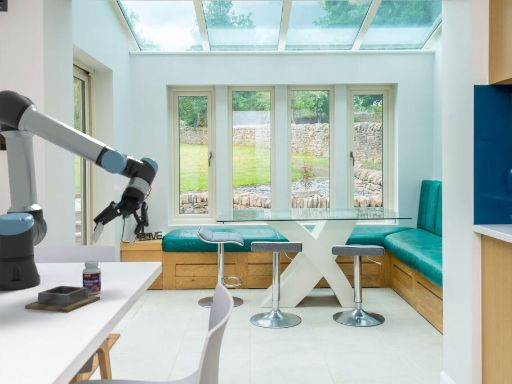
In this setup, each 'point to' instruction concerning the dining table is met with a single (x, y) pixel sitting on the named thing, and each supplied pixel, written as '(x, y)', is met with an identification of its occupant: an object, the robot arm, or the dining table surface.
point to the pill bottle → (92, 277)
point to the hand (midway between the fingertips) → (111, 241)
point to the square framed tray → (62, 299)
